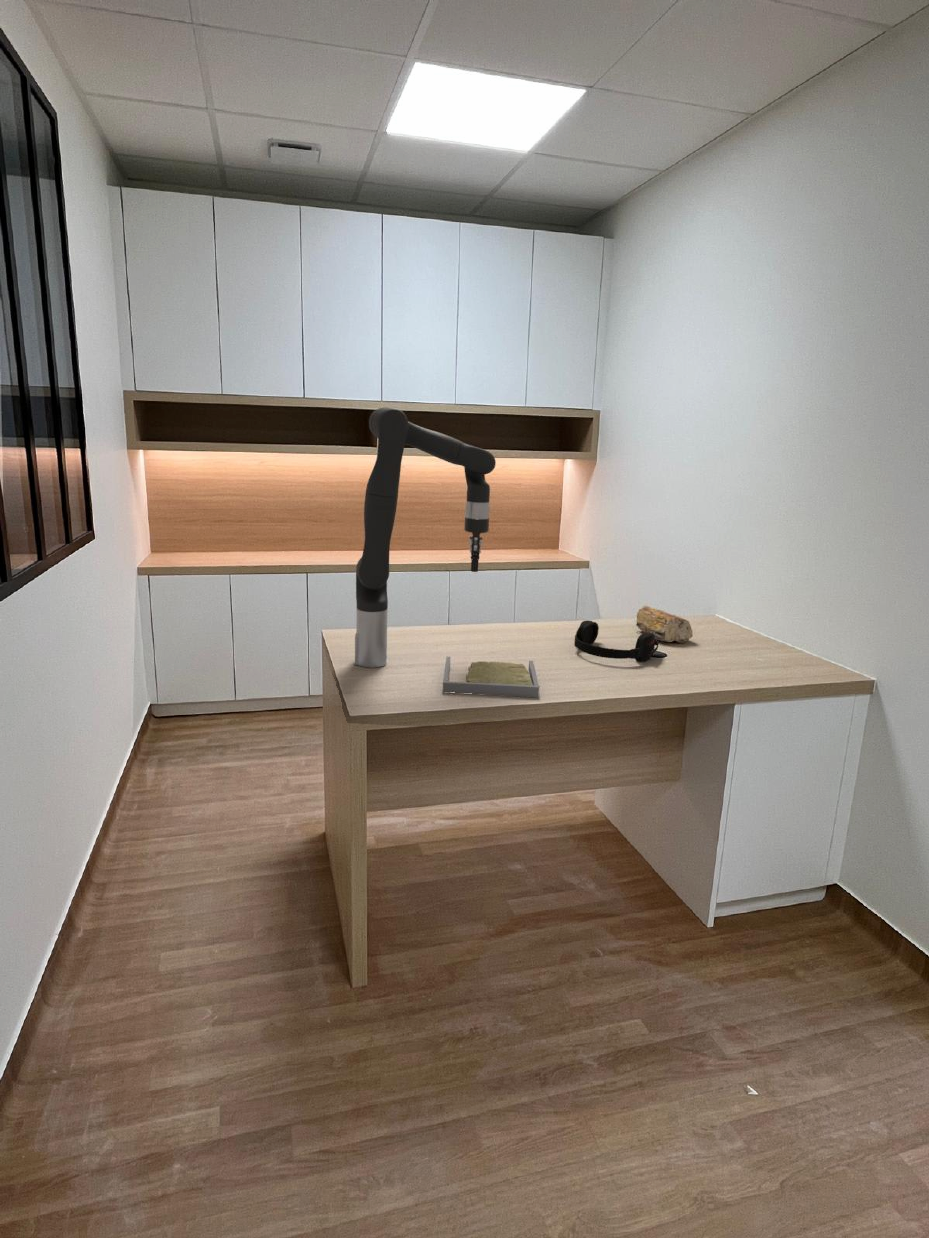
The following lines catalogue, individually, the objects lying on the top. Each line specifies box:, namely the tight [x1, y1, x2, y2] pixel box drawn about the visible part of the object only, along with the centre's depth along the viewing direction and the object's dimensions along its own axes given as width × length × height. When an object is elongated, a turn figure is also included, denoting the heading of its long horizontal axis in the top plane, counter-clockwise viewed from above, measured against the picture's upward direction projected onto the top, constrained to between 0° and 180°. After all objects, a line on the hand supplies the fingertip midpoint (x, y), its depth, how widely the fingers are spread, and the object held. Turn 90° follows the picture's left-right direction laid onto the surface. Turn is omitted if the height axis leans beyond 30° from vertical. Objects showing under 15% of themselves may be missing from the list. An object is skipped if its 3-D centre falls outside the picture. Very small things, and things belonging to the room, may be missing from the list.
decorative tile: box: [465, 661, 533, 686], centre depth 214 cm, size 19×20×4 cm
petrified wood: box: [635, 605, 694, 644], centre depth 268 cm, size 19×13×10 cm
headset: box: [573, 620, 660, 663], centre depth 246 cm, size 28×26×9 cm
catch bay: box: [442, 656, 540, 698], centre depth 215 cm, size 26×23×3 cm
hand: (474, 571), depth 233 cm, fingers closed
